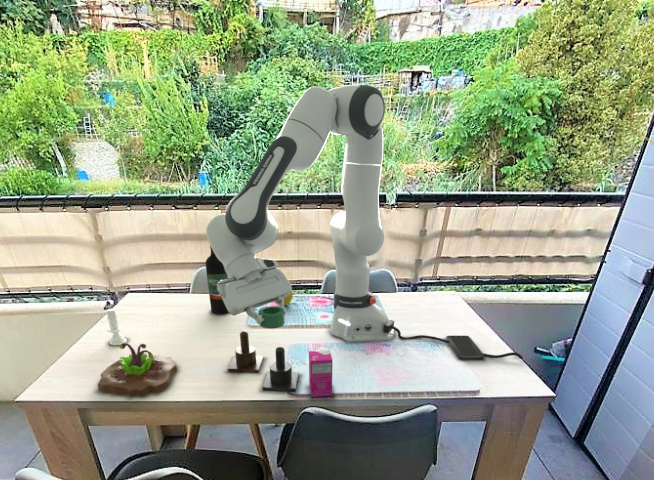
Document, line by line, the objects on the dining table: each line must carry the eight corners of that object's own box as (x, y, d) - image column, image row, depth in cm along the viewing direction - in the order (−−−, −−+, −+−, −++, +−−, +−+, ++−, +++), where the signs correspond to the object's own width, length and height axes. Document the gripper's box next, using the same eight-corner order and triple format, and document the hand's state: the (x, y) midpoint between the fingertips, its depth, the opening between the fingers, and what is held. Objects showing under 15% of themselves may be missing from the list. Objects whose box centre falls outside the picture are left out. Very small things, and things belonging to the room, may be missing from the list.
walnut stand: (263, 359, 129) (262, 325, 123) (258, 373, 121) (256, 338, 115) (235, 357, 130) (232, 324, 124) (228, 372, 122) (224, 336, 116)
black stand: (298, 375, 120) (298, 340, 114) (295, 392, 113) (294, 355, 107) (268, 374, 121) (266, 338, 115) (262, 391, 113) (260, 353, 107)
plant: (120, 360, 128) (111, 327, 122) (183, 361, 127) (177, 328, 122) (88, 396, 111) (76, 359, 105) (161, 398, 110) (153, 361, 104)
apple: (286, 308, 165) (286, 289, 161) (274, 305, 168) (273, 286, 164) (296, 304, 170) (295, 285, 166) (283, 301, 173) (282, 282, 169)
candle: (120, 346, 136) (112, 311, 130) (106, 344, 137) (97, 310, 131) (130, 339, 141) (122, 305, 135) (115, 338, 142) (107, 304, 136)
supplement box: (308, 387, 115) (308, 350, 109) (329, 386, 115) (330, 349, 110) (310, 398, 110) (310, 360, 104) (332, 397, 110) (334, 359, 105)
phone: (459, 356, 128) (445, 335, 141) (459, 359, 129) (445, 338, 142) (485, 356, 128) (468, 335, 141) (484, 359, 129) (468, 338, 142)
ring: (272, 316, 114) (271, 304, 112) (289, 323, 110) (288, 310, 108) (254, 323, 109) (253, 310, 108) (271, 330, 106) (270, 317, 104)
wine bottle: (233, 308, 166) (225, 229, 151) (228, 315, 159) (219, 234, 144) (214, 307, 166) (205, 229, 151) (208, 314, 160) (198, 233, 145)
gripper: (218, 275, 100) (247, 324, 99) (279, 258, 113) (305, 301, 112) (209, 289, 105) (237, 335, 104) (269, 271, 118) (294, 313, 117)
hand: (273, 318), depth 108 cm, fingers closed on ring, 6 cm apart
